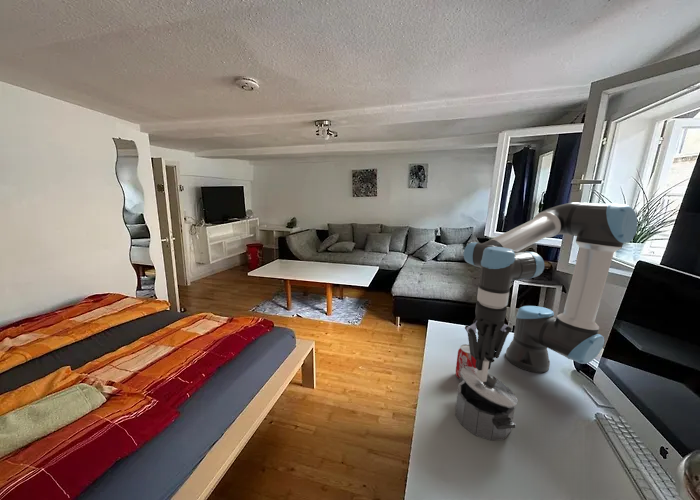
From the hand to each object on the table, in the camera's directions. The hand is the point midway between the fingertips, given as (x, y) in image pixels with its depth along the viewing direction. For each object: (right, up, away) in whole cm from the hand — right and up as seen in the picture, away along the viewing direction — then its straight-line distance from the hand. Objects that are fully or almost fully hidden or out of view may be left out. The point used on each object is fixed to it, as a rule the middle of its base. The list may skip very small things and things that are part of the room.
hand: (481, 378), depth 80 cm
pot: (+2, -14, +3) cm, 14 cm away
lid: (+2, -3, +1) cm, 4 cm away
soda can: (+4, -10, +21) cm, 24 cm away
